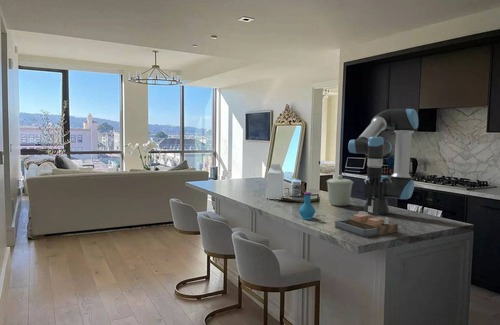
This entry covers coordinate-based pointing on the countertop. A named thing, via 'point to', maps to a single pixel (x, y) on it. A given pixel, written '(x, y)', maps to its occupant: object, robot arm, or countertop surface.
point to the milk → (275, 182)
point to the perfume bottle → (307, 207)
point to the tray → (355, 229)
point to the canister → (339, 191)
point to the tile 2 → (374, 221)
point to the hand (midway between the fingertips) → (373, 211)
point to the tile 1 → (359, 217)
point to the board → (380, 228)
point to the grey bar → (375, 212)
